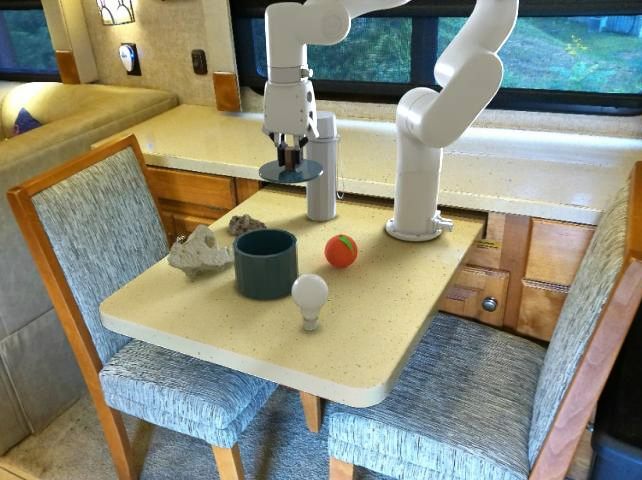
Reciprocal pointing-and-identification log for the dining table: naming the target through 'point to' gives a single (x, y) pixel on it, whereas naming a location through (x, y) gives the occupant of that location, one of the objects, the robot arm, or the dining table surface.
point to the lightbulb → (310, 298)
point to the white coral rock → (199, 253)
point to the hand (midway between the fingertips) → (290, 165)
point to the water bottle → (323, 152)
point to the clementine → (341, 251)
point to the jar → (265, 263)
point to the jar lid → (290, 170)
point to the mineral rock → (244, 224)
